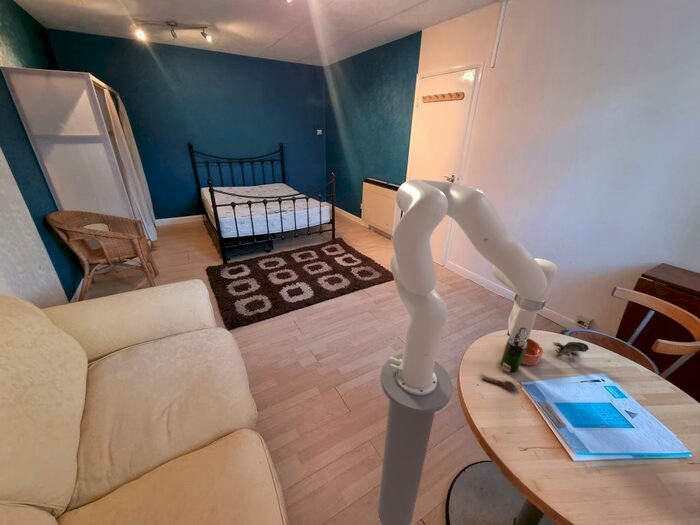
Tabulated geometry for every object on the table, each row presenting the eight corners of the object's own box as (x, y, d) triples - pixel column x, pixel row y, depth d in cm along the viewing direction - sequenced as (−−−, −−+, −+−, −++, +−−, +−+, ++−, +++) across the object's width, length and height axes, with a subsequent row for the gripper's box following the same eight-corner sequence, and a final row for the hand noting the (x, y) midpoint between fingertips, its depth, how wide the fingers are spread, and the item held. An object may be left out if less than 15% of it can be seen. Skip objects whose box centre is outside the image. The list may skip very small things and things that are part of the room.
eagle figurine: (573, 366, 92) (593, 355, 95) (565, 345, 93) (585, 335, 95) (552, 361, 100) (571, 351, 102) (545, 342, 100) (564, 332, 102)
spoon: (482, 381, 88) (482, 379, 88) (482, 374, 90) (483, 373, 90) (514, 392, 84) (515, 390, 84) (514, 385, 87) (514, 383, 87)
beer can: (515, 377, 90) (525, 348, 84) (497, 368, 93) (506, 340, 88) (519, 367, 93) (529, 339, 88) (502, 359, 96) (511, 332, 91)
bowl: (506, 360, 96) (509, 350, 94) (506, 342, 104) (509, 332, 102) (540, 370, 92) (544, 360, 90) (537, 350, 100) (541, 341, 98)
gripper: (513, 283, 90) (499, 326, 98) (516, 312, 76) (499, 359, 83) (540, 289, 87) (524, 333, 95) (548, 320, 73) (528, 368, 81)
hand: (512, 345), depth 89 cm, fingers open, 9 cm apart
